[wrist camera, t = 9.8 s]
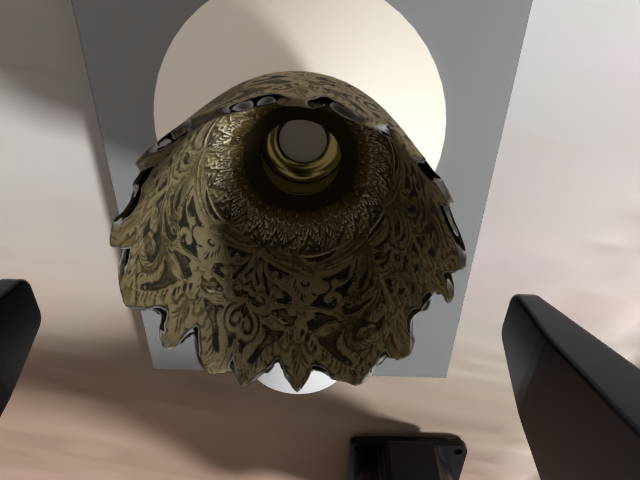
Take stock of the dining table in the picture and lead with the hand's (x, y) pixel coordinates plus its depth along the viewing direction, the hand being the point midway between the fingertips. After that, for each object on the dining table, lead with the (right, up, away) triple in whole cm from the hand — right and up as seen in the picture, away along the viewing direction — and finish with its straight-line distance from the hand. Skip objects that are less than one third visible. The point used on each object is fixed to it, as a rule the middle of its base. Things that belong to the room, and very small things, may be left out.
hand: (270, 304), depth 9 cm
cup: (0, +5, +8) cm, 9 cm away
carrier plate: (0, +3, +11) cm, 11 cm away
